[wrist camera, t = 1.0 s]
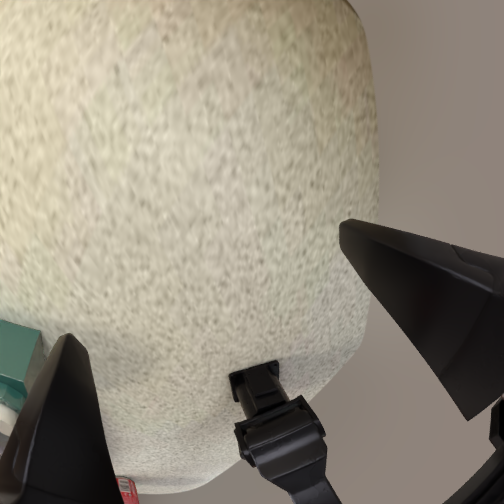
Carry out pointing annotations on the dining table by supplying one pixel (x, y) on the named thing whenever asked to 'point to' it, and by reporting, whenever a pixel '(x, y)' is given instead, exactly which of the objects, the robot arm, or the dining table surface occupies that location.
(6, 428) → the white push button
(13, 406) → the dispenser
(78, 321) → the dining table surface
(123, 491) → the soda can
